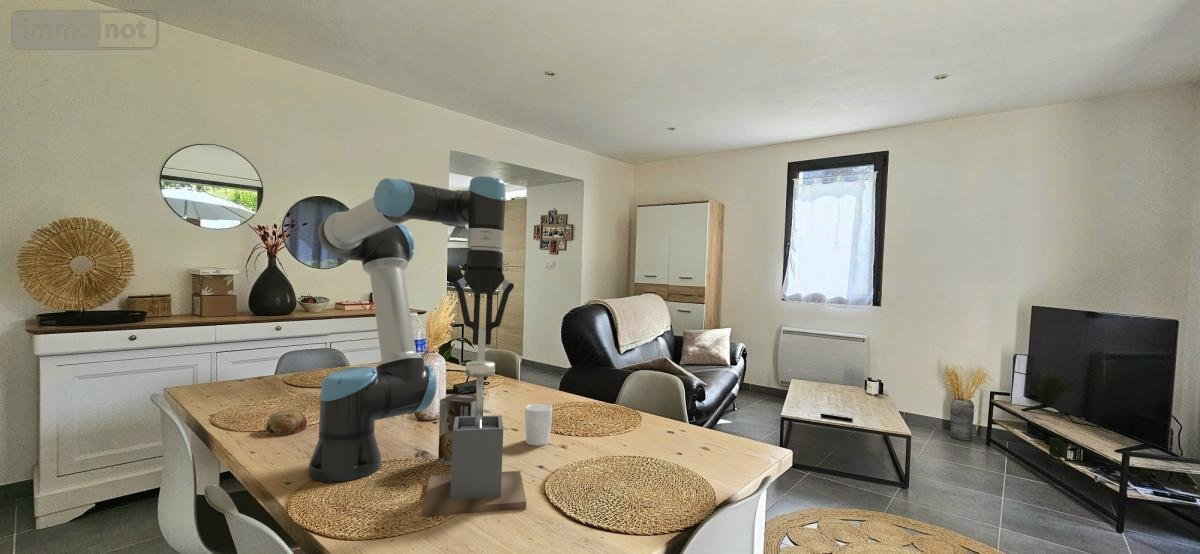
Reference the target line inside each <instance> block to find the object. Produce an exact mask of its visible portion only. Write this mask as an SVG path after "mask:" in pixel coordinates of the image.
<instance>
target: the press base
mask: <svg viewBox="0 0 1200 554" xmlns="http://www.w3.org/2000/svg"><path fill="white" fill-rule="evenodd" d="M427 484H428V485H427V488H426V492H425V496H424V500H423V505H422V508H421V518H430V517H431V518H433V517H442V516H456V515H458V516H459V515H467V514H468V515H470V514H478V513H479V514H480V513H493V512H495V513H496V512H507V511H517V510H527V497H526V492H525V488H524V483H523V479H522V474H521V470H512V471H511V470H510V471H502V477H501V497H492V498H478V499H465V500H451V501H450V488H451V474H447V475H430V477H429V480H428V483H427Z"/></svg>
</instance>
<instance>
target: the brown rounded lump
mask: <svg viewBox="0 0 1200 554" xmlns="http://www.w3.org/2000/svg"><path fill="white" fill-rule="evenodd" d="M307 424H308V420H307V417H306V416H305V414H303V413H302V412H301V411H298V410H295V409H289V408H288V409H282V410H279V411H277V412H274V414H272V415H271V416H270V417H269V419H267V422H266V425H265V429H266V430H265V431H266V435H268V436H279V437H280V436H281V437H282V436H283V437H285V436H292V435H296V434H299V433H300V432H303V431H305V430H306V428H307V426H308V425H307Z"/></svg>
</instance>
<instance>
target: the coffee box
mask: <svg viewBox="0 0 1200 554" xmlns="http://www.w3.org/2000/svg"><path fill="white" fill-rule="evenodd" d="M484 398H485V397H484V396H483V399H484ZM475 413H476V396H475V395H467V394H457V393H456V394H455V393H453V394H451V395H450V394H449V395H448V396H446V397H443V398H442V399H440V400H439V420H438V421H439V423H438V424H439V425H438V427H439V428H438V435H439V436H438V454H437V455H438V459H437V464H440V465H445V466H451V463H452V438H453V427H454V421H455V417H463V416H475ZM482 416H484V405H483V406H482Z"/></svg>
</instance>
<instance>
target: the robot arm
mask: <svg viewBox="0 0 1200 554" xmlns="http://www.w3.org/2000/svg"><path fill="white" fill-rule="evenodd" d="M468 189H469V190H462V191H460V190H459V191H458V190H452V189H446V188H441V187H438V186H432V185H427V184H422V183H418V182H412V181H408V180H406V179H399V178H388V177H387V178H386V177H385V178H383V179H381V180H379V182H378V184H377V186H376V187H375V190H374V194H373V196H372V197H370V198H369V199H367V200H364V201H363V202H361V203H359V204H357V205H356V206H354V207H352V208H350V209H347V211H337V212H334V213H331V214H330V215H329V216H327V217H325V218H324V219H323V220H322V222H321V223H320V225H319V227H318V231H317V232H318V239H319V242H320V244H321V245H322V247H323V248H324V249H325V250H326V251H327V252H328V253H330V254H331V255H332V256H335V257H336V258H339V259H342V260H346V261H347V260H348V261H358V262H359V261H360V262H361V264H362V271H364V272H365V273H367V274H368V275H369V277H370V283H371V292H372V299H373V305H374V306H373V307H374V313H375V321H376V327H377V328H376V329H377V335H378V336H377V337H378V343H379V351H380V357H381V359H380V361H379V362H378V363H377V365H376V366H375V367H373V366H367V365H366V366H355V367H348V368H344V369H340V370H336V371H333V372H331V373H329V374H328V375H326V376H324V378H323V380H322V382H321V387H320V389H321V390H320V394H319V400H320V401H319V420H318V421H319V424H318V426H319V427H318V440H317V443H316V445H315V448H314V451H313V453H312V456H311V458H310V461H309V463H308V471H307V473H308V477H309V478H311V479H312V480H314V481H316V482H317V481H318V482H325V483H326V482H327V483H334V482H337V483H338V482H344V481H345V482H348V481H353V480H357V479H361V478H363V477H366V476H369V475H371V474H373V473H374V472H377V471H378V469H380V467H381V464H382V454H381V452H380V447H379V445H378V442H377V438H376V435H375V423H376V421H377V420H382V419H389V418H393V417H399V416H404V415H412V414H416V413H418V412H423V411H425V410H427V408H429V407H430V406H431V404H432V403H433V401H434V398H435V396H436V393H437V375H436V372H435V371H434V369H433V367H431V366H430V365H429V366H428V365H427V364H426V365H425V361H424V357H423V356H421V355H420V354H419V353H417V349H416V348H417V347H416V342H415V341H416V340H415V336H414V335H415V334H414V329H413V322H412V317H411V316H412V315H411V310H410V303H409V296H408V291H407V290H408V289H407V286H406V285H407V284H406V279H405V272H404V271H405V270H406V269H407V267H408V266H409V262H411V260H412V258H413V256H414V250H415V241H414V236H413V234H412V232H411V230H410V229H409V228H408V227H407V226H406V225H405V224H403V223H405V222H407V221H409V220H417V221H418V220H419V221H428V222H433V223H434V222H435V223H441V224H442V225H444V226H450V227H452V226H453V227H459V226H460V227H461V226H466V225H468V227H467V247H468V248H469V250H468V251H467V252H466V270H465V272H464V273H463V277H461V278H459V279H458V280H456V281H453V283H452V286H453V287H454V289H455V291H456V293H457V295H458V299H459V304H460V305H459V306H460V309H461V314H462V319H463V325H464V326H465V327H467V328H470V329H471V330H472V344H473V345H474V346H475V345H477V358H476V359H477V360H476V361H486V345H487V346H488V345H489V346H490V345H491V342H492V330H493V329H495V328H497V327H500V326H501V323H502V320H503V315H504V312H505V309H506V306H507V303H508V298H509V295H510V293H511V292H512V291H513V289H514V288H515V284H514V283H512V282H509V281H508V280H507V279H506V278H505V274H504V273H503V272H504V271H503V266H504V265H503V264H504V253H503V251H501V250H503V249H504V237H505V230H504V229H505V211H506V209H505V208H506V200H507V199H506V184H505V182H504V181H503V180H502V179H500V178H496V177H494V176H493V177H492V176H483V175H482V176H480V175H479V176H474V177H472V178H471V179H470V181H469V186H468ZM466 284H467V285H468V287H469V288H470V290H471V291H472V292H473V293H474V295H473V296H474V301H473V321H471V317H470V313H469V309H468V304H467V298H466V295H465V290H464V289H465V288H466ZM501 285H502V287H501V289H502V290H503V291H502V295H501V298H500V302H499V305H498V308H497V312H496V314H495V320H493V299H494V298H493V297H494V296H493V295H494V293H495V292H496V291H497V289H498V288H499V287H500V286H501ZM482 293H484V294H486V301H485V302H486V305H485V308H486V309H485V310H486V311H485V328H480V314H481V313H480V311H481V310H480V309H481V294H482Z"/></svg>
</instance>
